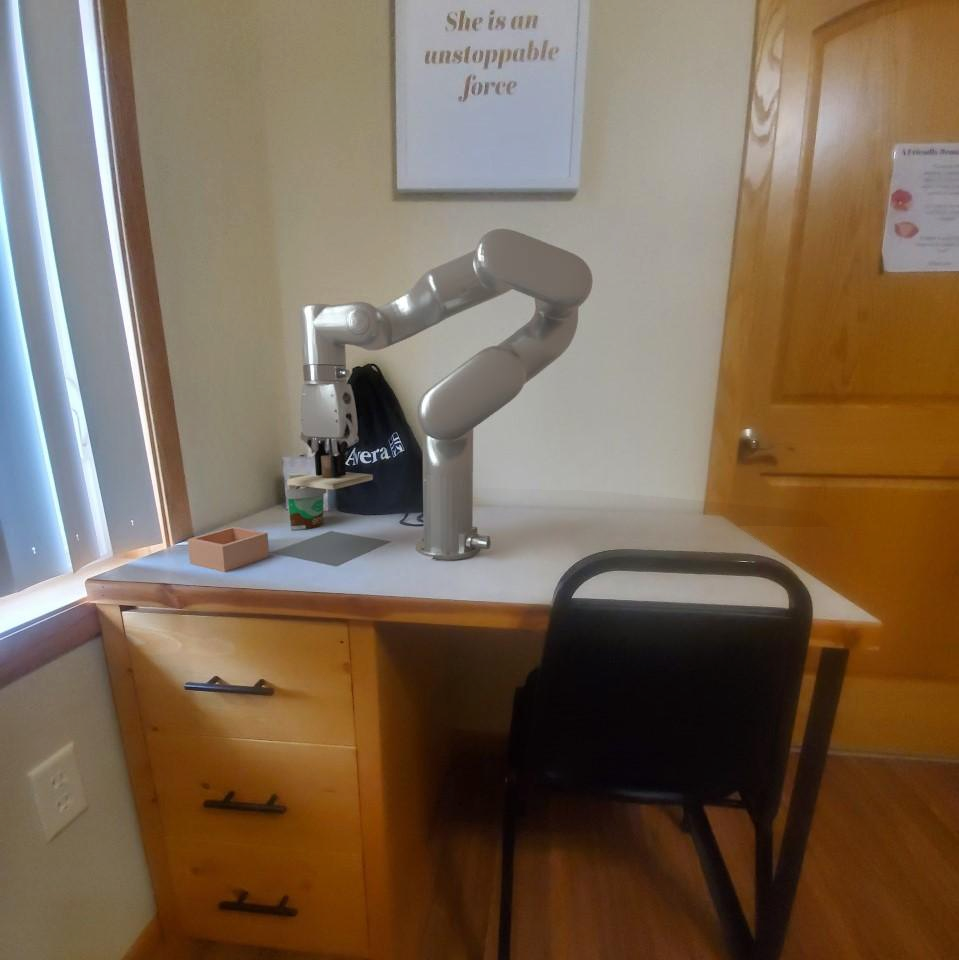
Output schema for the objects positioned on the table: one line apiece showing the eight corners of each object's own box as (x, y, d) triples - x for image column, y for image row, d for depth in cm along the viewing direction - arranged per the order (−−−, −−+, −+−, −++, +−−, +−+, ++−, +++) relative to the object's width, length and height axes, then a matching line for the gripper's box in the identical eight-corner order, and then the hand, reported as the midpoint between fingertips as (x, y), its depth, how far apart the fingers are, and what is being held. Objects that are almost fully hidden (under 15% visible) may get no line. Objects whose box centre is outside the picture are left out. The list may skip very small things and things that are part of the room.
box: (290, 521, 114) (287, 475, 112) (288, 516, 118) (285, 472, 116) (313, 518, 117) (311, 473, 115) (310, 514, 120) (308, 470, 118)
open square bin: (269, 559, 88) (267, 532, 87) (225, 575, 80) (222, 546, 79) (235, 551, 92) (233, 526, 91) (190, 566, 84) (187, 539, 83)
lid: (372, 479, 94) (371, 454, 93) (333, 489, 84) (331, 461, 83) (329, 475, 99) (328, 451, 98) (287, 484, 89) (285, 457, 88)
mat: (391, 544, 97) (391, 541, 97) (336, 569, 83) (336, 566, 83) (330, 533, 104) (330, 531, 104) (270, 555, 90) (270, 552, 90)
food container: (317, 535, 103) (314, 489, 101) (288, 535, 103) (285, 489, 101) (335, 520, 115) (333, 479, 113) (310, 520, 115) (307, 479, 113)
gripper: (374, 376, 88) (378, 475, 91) (307, 377, 95) (313, 469, 98) (346, 375, 81) (351, 482, 84) (276, 376, 88) (283, 475, 91)
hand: (330, 474), depth 91 cm, fingers closed on lid, 3 cm apart
